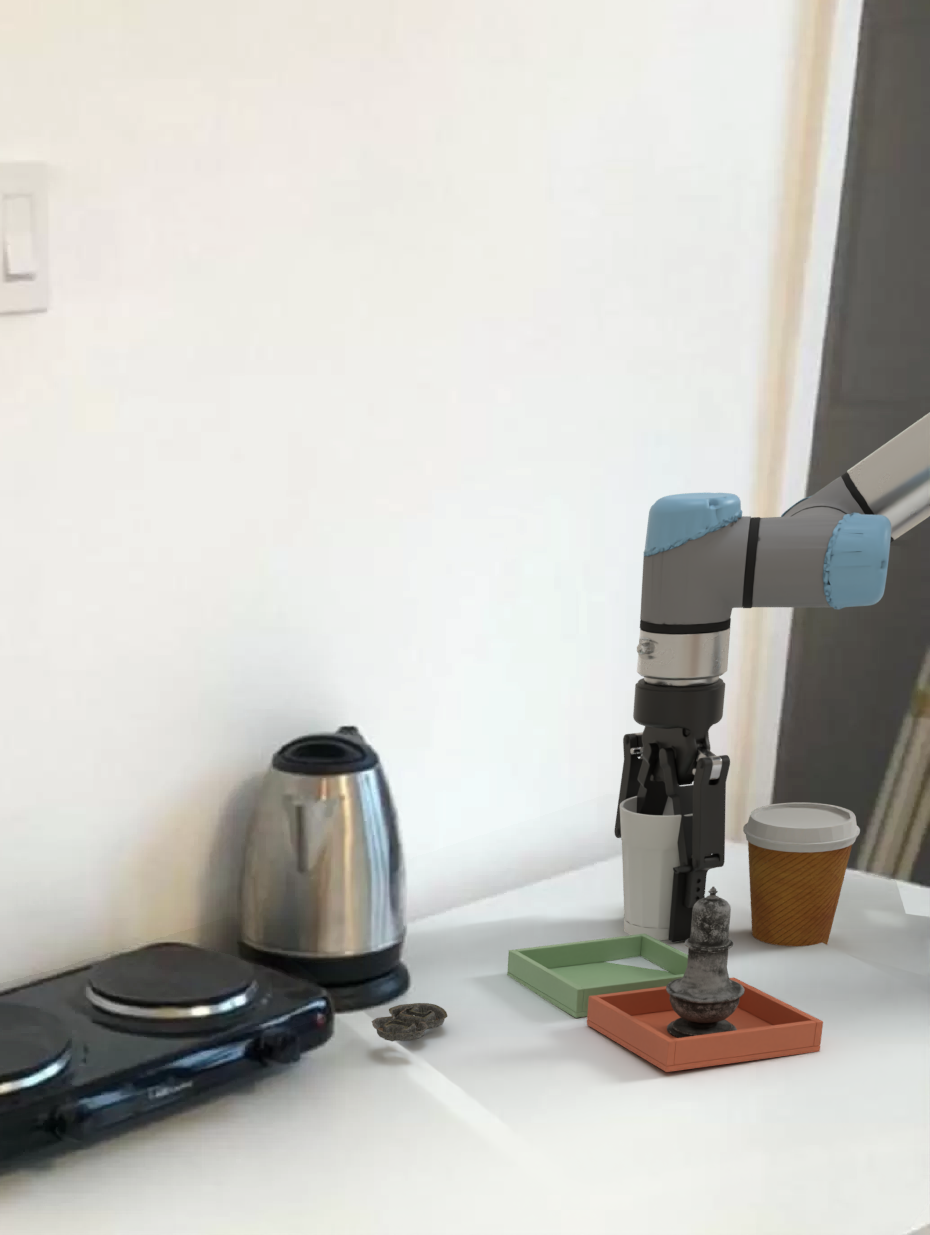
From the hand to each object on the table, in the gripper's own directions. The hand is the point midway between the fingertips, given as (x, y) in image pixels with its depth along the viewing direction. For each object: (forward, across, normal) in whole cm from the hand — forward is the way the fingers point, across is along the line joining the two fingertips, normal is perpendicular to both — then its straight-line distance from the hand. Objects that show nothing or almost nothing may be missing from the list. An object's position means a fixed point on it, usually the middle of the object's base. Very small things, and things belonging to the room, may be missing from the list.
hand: (661, 928), depth 189 cm
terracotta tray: (+1, +26, -12) cm, 28 cm away
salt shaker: (0, +26, -12) cm, 28 cm away
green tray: (+1, +12, -12) cm, 17 cm away
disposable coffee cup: (+1, +7, +9) cm, 11 cm away
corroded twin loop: (+1, +16, -32) cm, 36 cm away
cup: (+1, 0, 0) cm, 1 cm away
